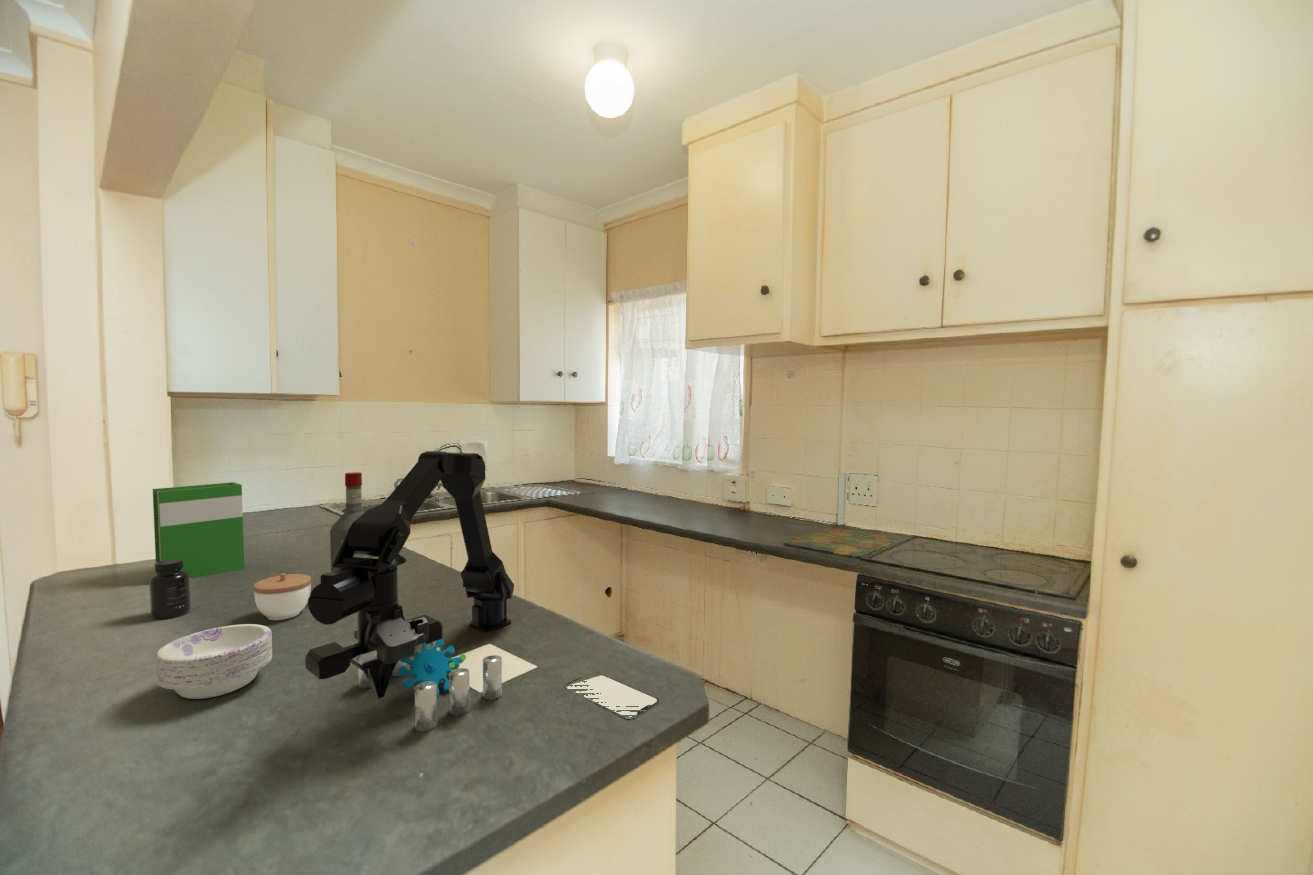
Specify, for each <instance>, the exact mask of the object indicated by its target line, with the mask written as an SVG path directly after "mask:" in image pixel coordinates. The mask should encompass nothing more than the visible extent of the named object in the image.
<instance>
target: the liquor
mask: <svg viewBox="0 0 1313 875" xmlns="http://www.w3.org/2000/svg"><path fill="white" fill-rule="evenodd" d="M344 486H345V508H344V513H343V514H341V516H340V517H339V518H338V519H337V520H336V521H335V522H334V524H333V525H332V526H331V528H330V531H329V538H330V541H329V542H330V572H334V571H337V570H339V569H337V568H333V563H334V561H335V559H336V557H337V555H338V552H339V550H340V548H341V546H342V544H343V542H344V539H345V537H346V535H347V532H348V530H349V528H350V526H351V525H352V523H353V522H354V521H355V520H356V519H358V518H359V517H360V516H361V515H362V514H364V513H365V512H366V511H364V507H363V498H362V486H363V474H362V472H356V471H355V472H353V471H352V472H345V474H344ZM353 557H359V558H372V559H376V558H378V557H372V556H360V555H354V556H353Z"/></svg>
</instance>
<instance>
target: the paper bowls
mask: <svg viewBox="0 0 1313 875" xmlns="http://www.w3.org/2000/svg"><path fill="white" fill-rule="evenodd" d="M272 642H273V634H272V630H271V629H270V628H269V627H268V626H266V625H262V624H254V623H244V624H243V623H242V624H233V625H231V624H230V625H225V626H218V627H214V628H209V629H205V630H201V631H197V632H195V633H191V634H188V635H184V636H181V637H179V638H177V639H174V640H172V641H171V642H168V643H167V644H165V645H163V646H162V647H161V648H160V649H159V650H158V651H157V653H156V654H155V657H156V658H155V659H156V680H157V684H158V685H159V686H160V688H163V689H167V690H174V692H176V693H177V695H179V696H181V697H182V698H186V699H192V700H194V699H195V700H199V699H200V700H201V699H202V700H203V699H209V698H214V697H219V696H223V695H226V694H229V693H232V692H236V691H237V690H239V689H241V688H244V687H246V685H249V683H251V682H252V681H253V680H254V679H255V678H256V676H257V674H258V673H259V670H261V669H262V668H264V667H265V666H266V665H268V664H269V663H270V662H271V661H272V659H273V643H272Z"/></svg>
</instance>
